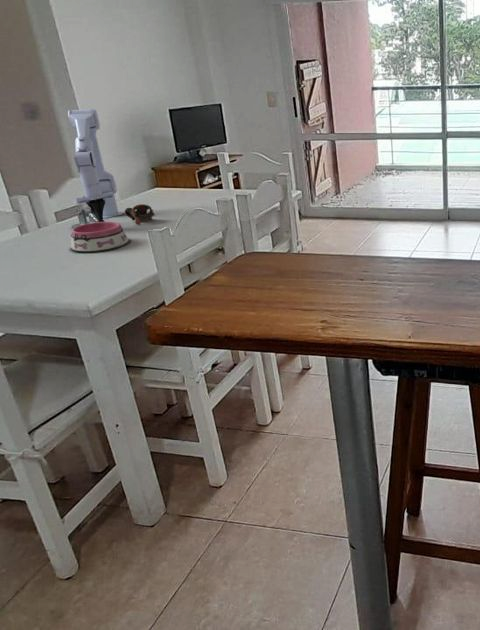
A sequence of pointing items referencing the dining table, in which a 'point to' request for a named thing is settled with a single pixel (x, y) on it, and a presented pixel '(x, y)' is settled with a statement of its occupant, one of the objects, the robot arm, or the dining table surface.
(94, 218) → the tap lever
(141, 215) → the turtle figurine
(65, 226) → the dining table surface
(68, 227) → the dining table surface
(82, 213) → the tap bracket
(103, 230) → the dog bowl
